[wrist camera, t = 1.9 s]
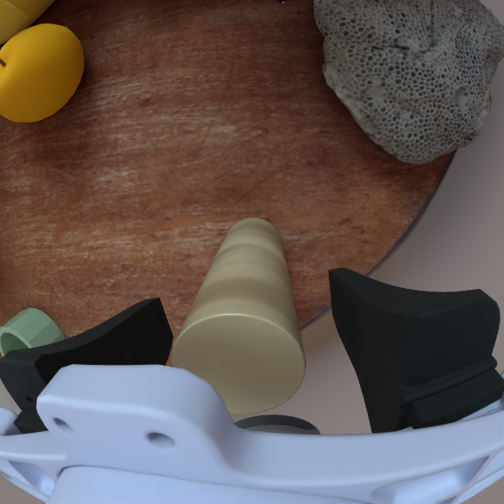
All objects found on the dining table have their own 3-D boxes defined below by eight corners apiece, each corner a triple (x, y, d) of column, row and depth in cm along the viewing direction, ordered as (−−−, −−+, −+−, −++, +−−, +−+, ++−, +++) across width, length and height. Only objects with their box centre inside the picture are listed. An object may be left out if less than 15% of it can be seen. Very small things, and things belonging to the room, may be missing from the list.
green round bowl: (81, 367, 25) (61, 393, 21) (39, 364, 26) (20, 386, 22) (50, 305, 23) (23, 327, 19) (11, 309, 24) (-13, 327, 19)
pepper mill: (286, 267, 21) (310, 406, 8) (231, 276, 21) (193, 417, 9) (276, 212, 20) (297, 302, 7) (219, 223, 20) (151, 322, 8)
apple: (34, 139, 18) (-29, 142, 11) (28, 66, 16) (-28, 54, 9) (104, 98, 17) (41, 81, 10) (95, 22, 15) (43, -11, 8)
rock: (500, 73, 14) (537, 73, 10) (410, 192, 20) (443, 212, 15) (382, -53, 11) (405, -79, 6) (259, 56, 16) (259, 36, 12)
